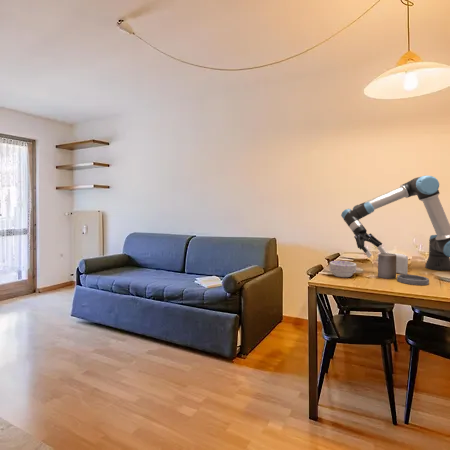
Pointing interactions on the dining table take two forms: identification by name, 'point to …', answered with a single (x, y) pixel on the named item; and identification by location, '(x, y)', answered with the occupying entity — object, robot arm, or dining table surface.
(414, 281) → the candle dish
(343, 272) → the paper bowls
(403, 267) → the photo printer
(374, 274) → the dining table surface
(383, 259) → the pillar candle
